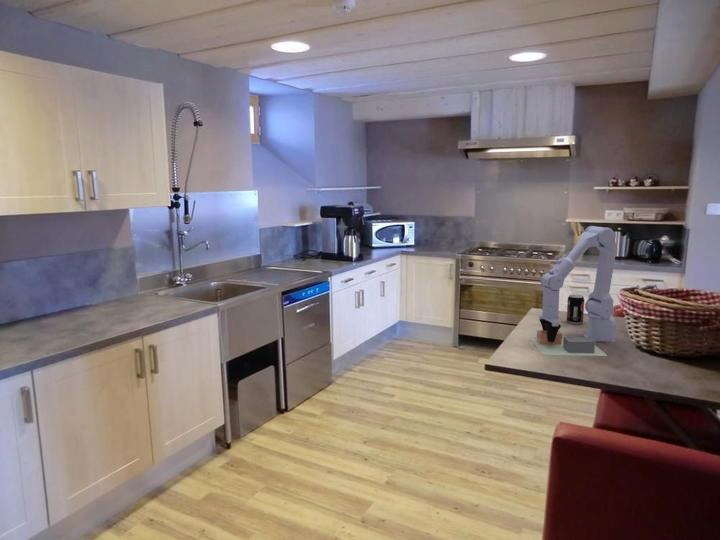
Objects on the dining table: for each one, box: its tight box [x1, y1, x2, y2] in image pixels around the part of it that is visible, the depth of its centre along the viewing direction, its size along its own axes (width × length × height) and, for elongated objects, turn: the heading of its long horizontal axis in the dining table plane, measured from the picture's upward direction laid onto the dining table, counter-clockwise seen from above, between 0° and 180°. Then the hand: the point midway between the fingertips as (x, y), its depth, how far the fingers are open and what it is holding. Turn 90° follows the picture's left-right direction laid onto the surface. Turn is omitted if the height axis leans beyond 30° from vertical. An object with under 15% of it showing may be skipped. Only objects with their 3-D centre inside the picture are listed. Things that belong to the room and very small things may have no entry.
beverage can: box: [566, 294, 585, 325], centre depth 221 cm, size 7×7×12 cm
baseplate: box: [529, 337, 608, 357], centre depth 189 cm, size 22×20×1 cm
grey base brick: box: [563, 336, 596, 353], centre depth 184 cm, size 9×6×4 cm, turn 85°
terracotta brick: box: [536, 329, 563, 344], centre depth 194 cm, size 8×4×4 cm, turn 85°
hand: (549, 339), depth 194 cm, fingers open, 5 cm apart
